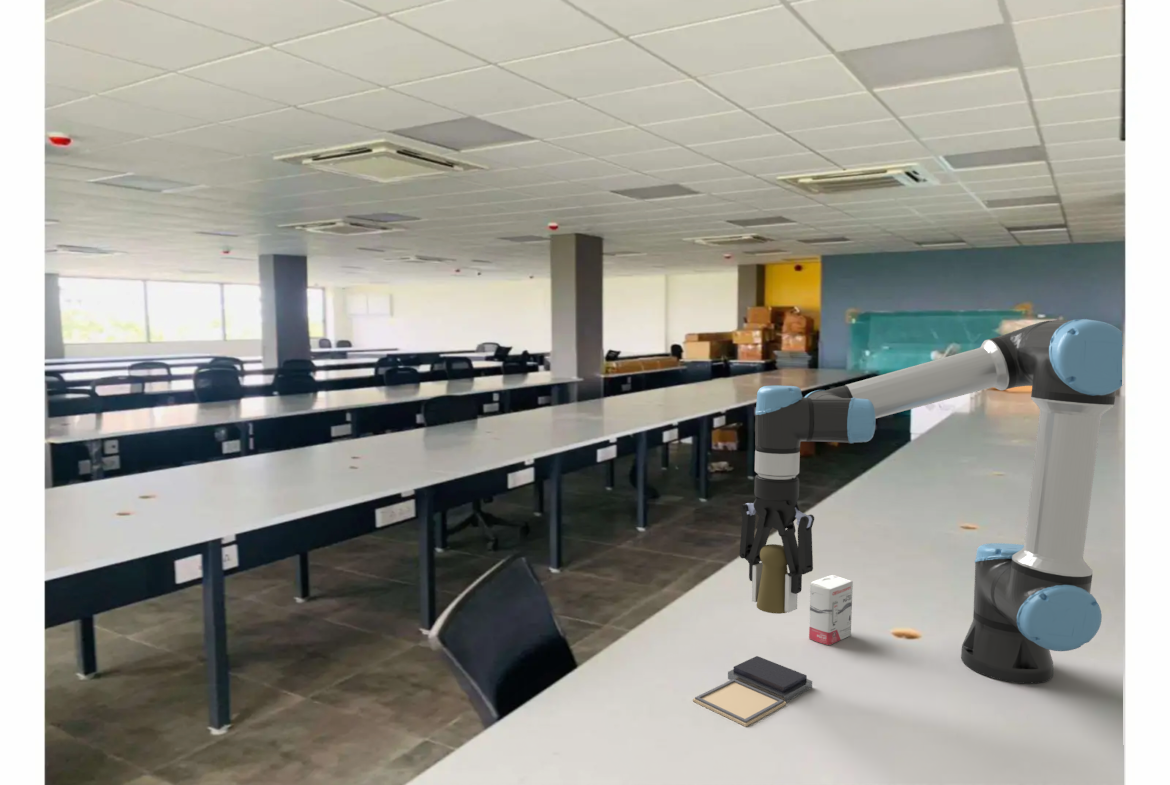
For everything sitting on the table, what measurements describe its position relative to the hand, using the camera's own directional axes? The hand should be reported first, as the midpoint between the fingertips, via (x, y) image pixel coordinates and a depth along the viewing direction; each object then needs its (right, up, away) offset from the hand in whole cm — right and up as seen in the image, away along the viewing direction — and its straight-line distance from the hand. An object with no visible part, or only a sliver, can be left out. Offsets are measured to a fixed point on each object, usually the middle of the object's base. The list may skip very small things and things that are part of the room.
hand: (774, 604), depth 134 cm
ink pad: (0, -15, +2) cm, 15 cm away
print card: (-7, -15, -5) cm, 18 cm away
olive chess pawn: (0, -1, 0) cm, 1 cm away
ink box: (+17, -13, +23) cm, 31 cm away
